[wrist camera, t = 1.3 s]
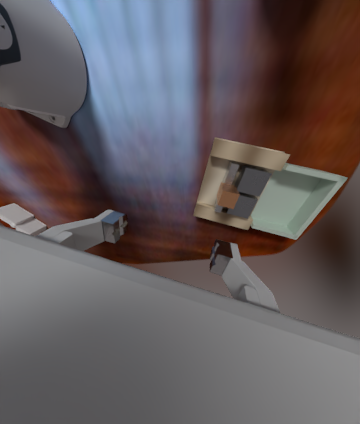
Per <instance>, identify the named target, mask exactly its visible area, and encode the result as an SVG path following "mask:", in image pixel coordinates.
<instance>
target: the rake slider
mask: <svg viewBox="0 0 360 424" xmlns="http://www.w3.org/2000/svg"><path fill="white" fill-rule="evenodd" d="M238 167H239V164H237V163H236V162H231V161H230V162H229V164H228V167H227V170H226V173H225V176H224V178H223V181H222V182H221V184H220V187H219V190H218V193H217V198H216V201H215V204H214V211H215V212H219V213H221V210H222V208H223V207H227V208H231V209H234V207H235V204H236V202H237V200H238V198H239V195H240V194H239V192H238V190H237V188H236V186H234V185H232V183H233V180H234V178H235V175H236V172H237V170H238Z"/></svg>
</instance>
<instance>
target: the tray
mask: <svg viewBox="0 0 360 424" xmlns="http://www.w3.org/2000/svg"><path fill="white" fill-rule="evenodd" d="M346 180H347V177H344V176H340V175H336V174H333V173H329V172H325V171H320V170H316V169H311V168H307V167H302V166H298V165H293V164H288V163H285V165H284V167H283V168H282V170H281V171H277V170H275V171H274V173H273V175H272V177H271V178H270V180H269V182H268V184H267V186H266V188H265V190H264V191H263V193H262V195H261V197H260V199H259V201H258V203H257V204H256V206H255V208H254V210H253V212H252V214H251V217H252V219H253V222H252V223H251V227H252V228H254V229H258V230H261V231H265V232H269V233H273V234H276V235H280V236H284V237H288V238H292V239H295V240H296V239H297V238H298V237H299V236H300V235H301V234H302V232H303V231H304V230H305V229H306V228H307V226H308V225H309V224H310V223H311V222H312V220H313V219H314V218H315V217H316V216H317V214H318V213H319V212H320V211H321V210H322V208H323V207H324V206H325V205H326V204H327V202H328V201H329V200H330V199H331V198H332V196H333V195H334V194H335V193H336V192H337V190H338V189H339V188H340V187H341V186H342V184H343V183H344V182H345V181H346Z"/></svg>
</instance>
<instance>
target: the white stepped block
mask: <svg viewBox="0 0 360 424" xmlns="http://www.w3.org/2000/svg"><path fill="white" fill-rule="evenodd" d="M0 219H1V220H3V221H5V222H7V223H8V224H10V225H11V227H13V228H16V230H17V231H20V232H23V233H26V234H29V235H33V236H35V235H37V234H39V233H41V232H43V231H44V230H46V227H47V225H45V224H43V223H42V222H40V221H39V220H37V219H35V218H34V215H33V214H31V213H29V212H28V211H26V210H24V209H23V208H21V207H20V206H18V205H16V204H15V203H13V204H10V205H7V206H3V207H0Z"/></svg>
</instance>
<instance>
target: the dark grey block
mask: <svg viewBox="0 0 360 424" xmlns="http://www.w3.org/2000/svg"><path fill="white" fill-rule="evenodd" d="M271 175H272V173H270V172H268V171H266V170H264V169H259V168H255V167H250V166H246V165H242V167H241V170H240V172H239V174H238V177H237V179H236V182H235V184H234V186H236V188H237V190H238V192H242V193H246V194H251V195H255V196H259V197H260V195H261V193H262V191H263V190H264V188H265V186H266V184H267V182H268V180H269V178H270V176H271Z"/></svg>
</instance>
